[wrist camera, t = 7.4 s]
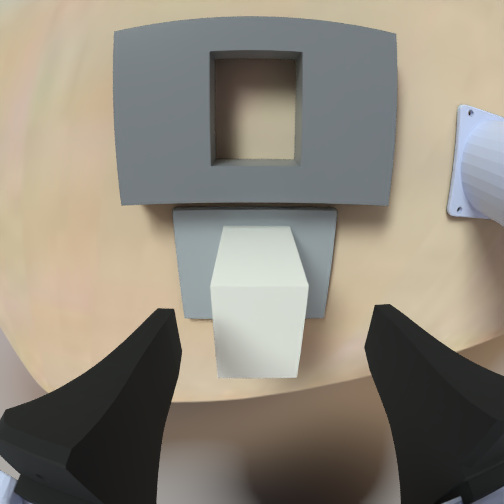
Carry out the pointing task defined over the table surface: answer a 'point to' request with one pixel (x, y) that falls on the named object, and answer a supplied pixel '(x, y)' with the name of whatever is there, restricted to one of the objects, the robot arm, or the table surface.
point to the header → (203, 112)
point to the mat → (214, 218)
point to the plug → (258, 303)
